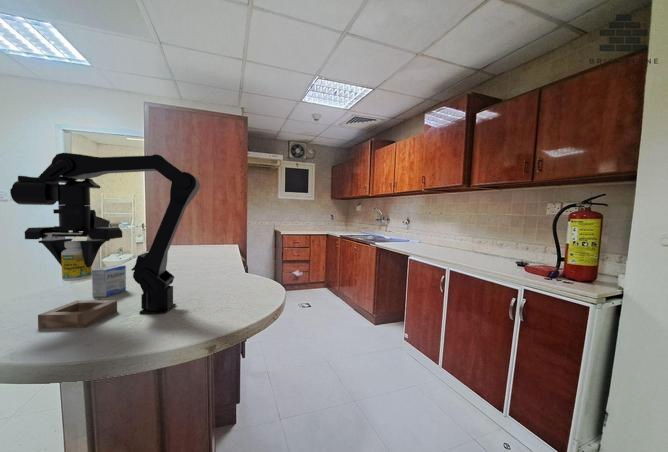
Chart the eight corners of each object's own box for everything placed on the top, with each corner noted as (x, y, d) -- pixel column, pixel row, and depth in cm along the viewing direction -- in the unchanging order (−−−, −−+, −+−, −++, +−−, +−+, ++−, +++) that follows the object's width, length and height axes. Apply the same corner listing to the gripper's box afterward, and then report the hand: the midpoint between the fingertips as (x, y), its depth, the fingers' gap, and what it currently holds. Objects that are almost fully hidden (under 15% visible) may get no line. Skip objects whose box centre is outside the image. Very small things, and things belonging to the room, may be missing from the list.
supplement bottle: (94, 275, 70) (93, 239, 69) (88, 279, 65) (87, 241, 65) (66, 277, 67) (64, 240, 67) (58, 282, 62) (57, 242, 62)
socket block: (117, 311, 70) (117, 300, 70) (85, 327, 60) (85, 314, 60) (76, 311, 69) (76, 300, 69) (38, 327, 59) (37, 314, 59)
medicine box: (105, 297, 81) (105, 270, 81) (91, 297, 81) (91, 269, 81) (126, 290, 89) (126, 265, 88) (113, 289, 89) (113, 264, 88)
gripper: (135, 206, 74) (137, 261, 75) (65, 205, 73) (67, 261, 73) (104, 205, 63) (106, 269, 64) (20, 204, 61) (23, 269, 62)
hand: (77, 267), depth 66 cm, fingers closed on supplement bottle, 5 cm apart
